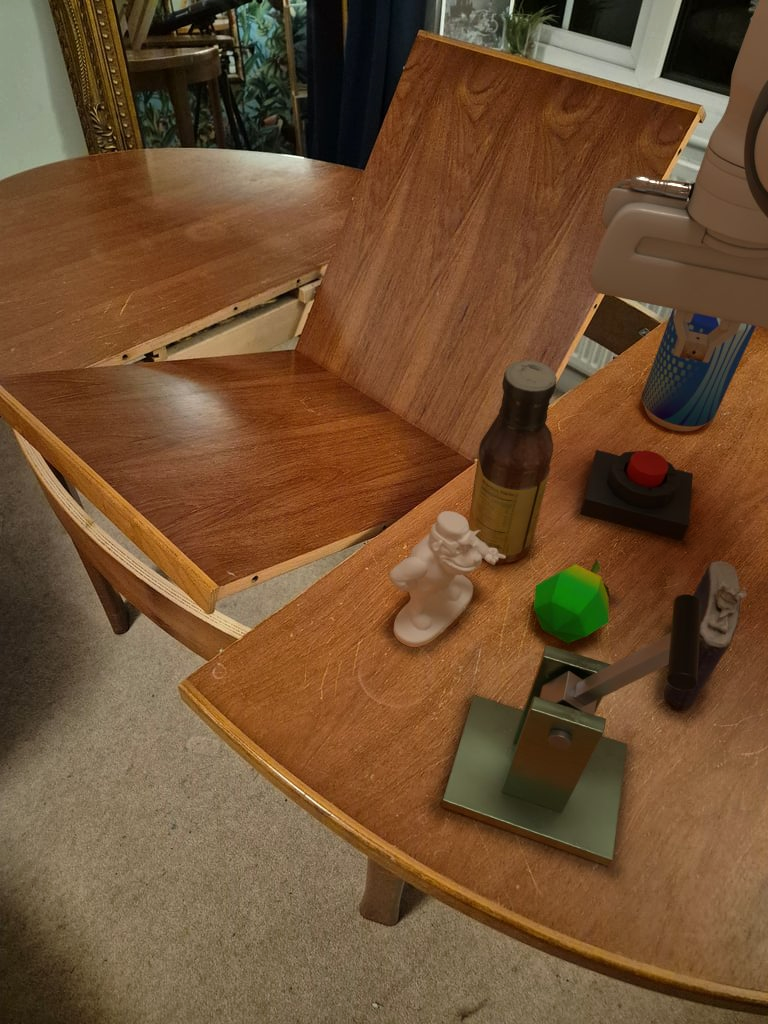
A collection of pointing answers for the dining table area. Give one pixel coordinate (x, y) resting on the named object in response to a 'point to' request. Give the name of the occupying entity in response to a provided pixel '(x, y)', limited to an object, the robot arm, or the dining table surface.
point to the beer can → (691, 377)
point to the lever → (639, 663)
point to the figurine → (438, 578)
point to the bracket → (542, 767)
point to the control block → (637, 497)
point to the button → (647, 468)
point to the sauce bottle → (514, 462)
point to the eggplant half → (711, 627)
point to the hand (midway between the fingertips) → (690, 356)
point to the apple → (572, 603)
